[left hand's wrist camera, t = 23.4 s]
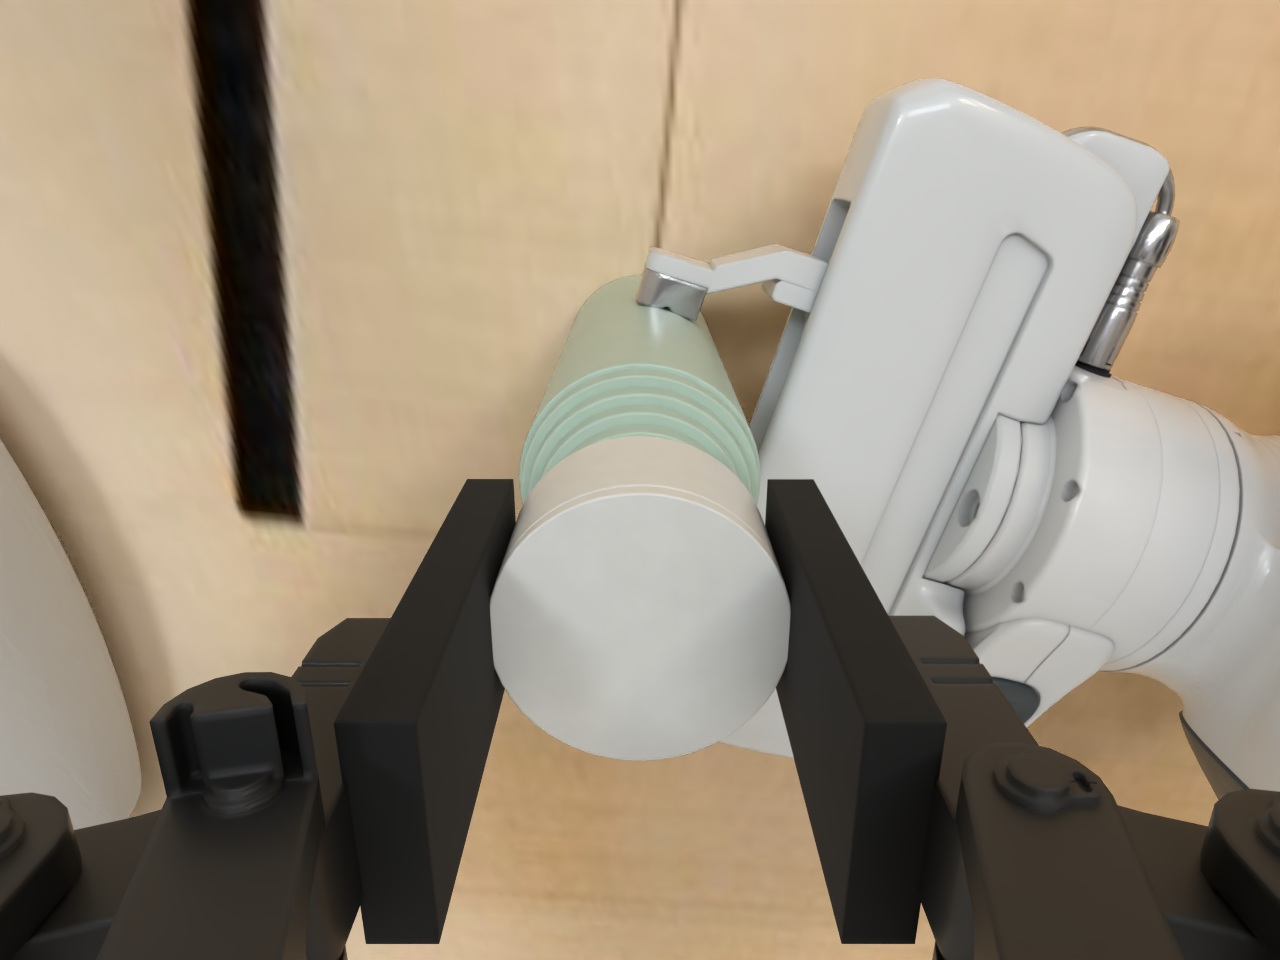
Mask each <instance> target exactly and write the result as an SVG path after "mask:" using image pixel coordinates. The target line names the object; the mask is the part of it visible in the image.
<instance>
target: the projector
mask: <svg viewBox="0 0 1280 960" xmlns="http://www.w3.org/2000/svg"><path fill="white" fill-rule="evenodd" d="M141 780H142V777H141V768H140V761H139V755H138V750H137V745H136V741H135V737H134V732H133V728H132V724H131V721H130V717H129V713H128V710H127V706H126V703H125V699H124V696H123V693H122V690H121V686H120V683H119V680H118V677H117V674H116V671H115V668H114V665H113V663H112V660H111V657H110V654H109V652H108V649H107V646H106V643H105V640H104V638H103V635H102V633H101V630H100V628H99V625H98V623H97V621H96V618H95V616H94V614H93V611H92V609H91V606H90V604H89V602H88V599H87V597H86V595H85V593H84V590H83V588H82V586H81V584H80V582H79V580H78V578H77V576H76V574H75V571H74V569H73V567H72V565H71V563H70V561H69V559H68V557H67V555H66V553H65V551H64V549H63V547H62V545H61V543H60V541H59V539H58V538H57V536H56V534H55V532H54V530H53V528H52V526H51V524H50V522H49V520H48V519H47V517H46V515H45V513H44V511H43V509H42V508H41V506H40V504H39V502H38V501H37V499H36V497H35V495H34V494H33V492H32V490H31V488H30V487H29V485H28V483H27V481H26V480H25V478H24V476H23V475H22V473H21V471H20V470H19V468H18V466H17V465H16V463H15V462H14V460H13V458H12V457H11V455H10V454H9V452H8V450H7V449H6V447H5V445H4V444H3V442H2V441H1V439H0V796H2V795H11V794H21V793H30V792H33V793H38V794H43V795H49V796H54V797H56V798H57V799H58V800H59V801H60V802H61V803H62V804H64V805H65V806H66V807H67V808H68V812H69V815H70V819H71V822H72V826H73V829H74V830H77V829H81V828H86V827H91V826H95V825H100V824H104V823H109V822H114V821H118V820H123V819H128V818H129V816H130V815H131V813H132V811H133V809H134V808H135V806H136V803H137V801H138V798H139V796H140V792H141Z"/></svg>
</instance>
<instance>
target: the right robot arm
mask: <svg viewBox="0 0 1280 960" xmlns="http://www.w3.org/2000/svg"><path fill="white" fill-rule="evenodd" d="M1157 196H1158V199H1157V205H1156V210H1155V212H1153V211H1150V210H1151V208H1152V206H1153V204H1154V202H1155V200H1156V198H1157ZM1174 199H1175V184H1174V178H1173V175H1172V172H1171V169H1170V167H1169V163H1168V161H1167V159H1166V158H1165V157H1164V156H1163V155H1162V154H1161V153H1159V152H1158V151H1157V150H1156V149H1154V148H1153V147H1151V146H1150V145H1148V144H1146V143H1143V142H1141V141H1138V140H1135V139H1132V138H1129V137H1126V136H1123V135H1121V134H1118V133H1115V132H1112V131H1109V130H1106V129H1103V128H1098V127H1079V128H1074V129H1070V130H1067V131H1065V132H1062V133H1060V132H1058V131H1056V130H1055V129H1053V128H1051V127H1049V126H1047V125H1046V124H1044V123H1042V122H1040V121H1038V120H1036V119H1035V118H1033V117H1031V116H1029V115H1027V114H1025V113H1023V112H1021V111H1019V110H1017V109H1015V108H1013V107H1011V106H1009V105H1007V104H1005V103H1003V102H1000V101H998V100H996V99H994V98H992V97H989V96H987V95H985V94H982V93H980V92H978V91H975V90H973V89H970V88H968V87H965V86H963V85H960V84H957V83H955V82H952V81H949V80H945V79H939V78H923V79H918V80H914V81H911V82H908V83H905V84H903V85H901V86H898V87H896V88H894V89H892V90H890V91H888V92H886V93H885V94H883V95H881V96H879V97H877V98H876V99H874V100H872V101H871V102H870V103H869V104H868V105H867V106H866V108H865V109H864V111H863V113H862V116H861V118H860V121H859V123H858V126H857V129H856V132H855V134H854V137H853V140H852V143H851V145H850V148H849V151H848V154H847V156H846V159H845V162H844V165H843V167H842V170H841V173H840V176H839V179H838V181H837V184H836V187H835V190H834V192H833V195H832V198H831V201H830V203H829V206H828V209H827V212H826V214H825V217H824V220H823V223H822V225H821V228H820V231H819V234H818V236H817V239H816V242H815V245H814V248H813V250H812V253H811V255H810V254H807V253H804V252H801V251H797V250H794V249H791V248H788V247H785V246H781V245H778V244H771V245H767V246H763V247H759V248H755V249H751V250H747V251H743V252H738V253H734V254H730V255H726V256H722V257H718V258H714V259H710V262H709V263H706V262H703V261H699V260H696V259H693V258H690V257H687V256H683V255H680V254H677V253H674V252H671V251H668V250H664V249H660V248H655V247H650V249H649V252H648V256H647V259H646V263H645V266H644V269H643V273H642V277H641V280H640V284H639V287H638V291H637V295H636V301H637V302H639V303H641V304H643V305H646V306H649V307H652V308H659V309H661V308H665V307H669V309H670V310H671V311H672V313H674V314H677V315H679V316H681V317H684V318H688V319H691V320H694V321H696V320H697V317H698V314H699V312H700V309H701V306H702V303H703V300H704V297H705V294H706V292H707V294H709V293H714V292H718V291H723V290H727V289H732V288H737V287H741V286H746V285H750V284H755V283H759V282H763V283H762V287H763V290H764V291H765V292H766V293H767V294H768V295H769V296H770V297H771V298H772V299H773V300H774V301H776V302H779V303H782V304H785V305H788V306H791V307H792V308H791V311H790V314H789V317H788V319H787V322H786V325H785V328H784V330H783V333H782V336H781V339H780V341H779V344H778V347H777V350H776V352H775V355H774V358H773V361H772V363H771V366H770V369H769V372H768V374H767V377H766V380H765V383H764V386H763V388H762V391H761V394H760V397H759V399H758V402H757V405H756V408H755V410H754V413H753V416H752V419H751V421H750V424H749V428H750V430H751V433H752V435H753V438H754V441H755V443H756V446H757V451H758V455H759V460H760V471H761V481H760V492H759V497H758V504H757V507H758V509H759V511H760V513H761V516H762V519H763V522H764V525H765V517H766V498H767V480H768V479H814V481H815V483H816V485H817V486H818V488H819V490H820V492H821V494H822V496H823V497H824V499H825V501H826V503H827V505H828V507H829V508H830V510H831V512H832V514H833V516H834V517H835V519H836V521H837V523H838V525H839V527H840V528H841V530H842V532H843V534H844V536H845V537H846V539H847V541H848V543H849V545H850V547H851V548H852V550H853V552H854V554H855V556H856V558H857V559H858V561H859V563H860V565H861V567H862V568H863V570H864V572H865V574H866V576H867V578H868V579H869V581H870V583H871V585H872V587H873V588H874V590H875V592H876V594H877V596H878V598H879V599H880V601H881V603H882V605H883V607H884V609H885V610H886V612H887V614H888V616H935V617H937V618H938V619H940V620H941V621H943V622H944V623H946V624H947V625H949V626H950V627H952V628H953V629H954V630H956V631H957V632H959V633H960V634H962V635H963V636H964V637H965V639H966V640H967V642H968V643H969V645H970V646H971V647H972V649H973V650H974V652H975V653H976V655H977V656H978V658H979V662H980V664H983V665H984V666H985V668H986V669H987V671H988V672H989V674H990V675H991V677H992V678H993V684H997V685H998V687H999V688H1000V690H1001V691H1002V693H1003V694H1004V696H1005V697H1006V699H1007V700H1008V702H1009V703H1010V704H1011V706H1012V707H1013V709H1014V710H1015V712H1016V713H1017V715H1018V716H1019V718H1020V719H1021V720H1022V722H1023V723H1024V725H1025V726H1026V728H1027V727H1028V726H1030V725H1031V724H1032V723H1033V722H1034V721H1035V720H1036V719H1037V718H1038V717H1040V716H1041V715H1042V714H1043V713H1044V712H1045V711H1047V710H1048V709H1049V708H1050V707H1051V706H1052V705H1054V704H1055V703H1056V702H1057V701H1059V700H1060V699H1061V698H1063V697H1064V696H1065V695H1066V694H1068V693H1069V692H1070V691H1072V690H1073V689H1075V688H1076V687H1077V686H1079V685H1080V684H1082V683H1083V682H1084V681H1086V680H1087V679H1089V678H1090V677H1091V676H1093V675H1094V674H1095V673H1096V672H1097V671H1104V672H1126V673H1135V674H1140V675H1144V676H1147V677H1150V678H1153V679H1155V680H1157V681H1159V682H1161V683H1163V684H1164V685H1165V686H1167V687H1168V688H1170V689H1171V690H1172V691H1174V692H1175V693H1176V694H1177V695H1178V696H1179V697H1180V698H1181V700H1182V702H1183V706H1184V709H1183V711H1181V712H1180V713H1179V716H1180V720H1181V723H1182V726H1183V729H1184V732H1185V735H1186V737H1187V740H1188V742H1189V744H1190V746H1191V748H1192V750H1193V752H1194V754H1195V756H1196V758H1197V760H1198V762H1199V764H1200V766H1201V768H1202V770H1203V772H1204V774H1205V775H1206V777H1207V779H1208V781H1209V783H1210V785H1211V787H1212V788H1213V790H1214V792H1215V794H1216V796H1217V798H1218V800H1220V799H1221V798H1222V797H1223V796H1224V795H1225V794H1227V793H1229V792H1235V791H1240V790H1246V789H1259V790H1268V791H1278V792H1280V435H1261V436H1260V435H1253V434H1250V433H1247V432H1245V431H1243V430H1241V429H1240V428H1239V427H1237V426H1236V425H1235V424H1233V423H1232V422H1231V421H1230V420H1228V419H1227V418H1225V417H1224V416H1222V415H1220V414H1219V413H1217V412H1215V411H1214V410H1212V409H1210V408H1208V407H1206V406H1203V405H1201V404H1198V403H1195V402H1193V401H1190V400H1187V399H1183V398H1179V397H1176V396H1173V395H1170V394H1167V393H1164V392H1161V391H1158V390H1154V389H1151V388H1148V387H1145V386H1142V385H1139V384H1135V383H1132V382H1129V381H1126V380H1123V379H1120V378H1117V377H1114V376H1111V374H1109V372H1110V370H1111V368H1112V366H1113V364H1114V362H1115V360H1116V358H1117V356H1118V354H1119V352H1120V350H1121V348H1122V346H1123V344H1124V342H1125V340H1126V338H1127V336H1128V334H1129V332H1130V330H1131V328H1132V326H1133V323H1134V321H1135V319H1136V316H1137V314H1138V313H1136V312H1137V311H1139V308H1140V305H1141V304H1140V301H1142V299H1143V297H1144V294H1143V293H1144V292H1145V291H1146V289H1147V287H1148V285H1149V284H1148V282H1150V281H1151V279H1152V277H1153V275H1154V273H1155V272H1156V270H1157V268H1158V267H1159V268H1160V267H1161V266H1162V264H1163V263H1164V261H1165V260H1166V258H1167V256H1168V254H1169V252H1170V250H1171V248H1172V246H1173V243H1174V241H1175V238H1176V235H1177V232H1178V227H1179V223H1180V222H1179V220H1178V219H1177V218H1175V217H1172V216H1171V213H1172V210H1173V205H1174ZM718 742H721V743H724V744H728V745H732V746H736V747H740V748H744V749H749V750H753V751H758V752H763V753H767V754H772V755H777V756H783V757H788V758H793V759H794V757H793V753H792V749H791V745H790V741H789V737H788V733H787V729H786V726H785V722H784V718H783V714H782V710H781V706H780V702H779V698H778V694H777V691H776V688H775V689H774V691H773V692H772V694H771V696H770V697H769V699H768V700H767V701H766V703H765V704H764V705H763V706H762V707H761V708H760V710H759V711H758V712H757V713H756V714H755V715H754V716H753V717H752V718H751V719H750V720H749V721H747V722H746V723H745V724H744V725H743V726H742V727H740V728H739V729H738V730H736V731H735V732H733V733H732V734H730V735H729V736H728V737H726V738H724V739H722V740H720V741H718Z"/></svg>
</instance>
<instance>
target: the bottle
mask: <svg viewBox="0 0 1280 960" xmlns="http://www.w3.org/2000/svg"><path fill="white" fill-rule="evenodd" d="M641 277H642V276H628V277H624V278H620V279H617V280H614V281H612V282H610V283H608V284H606V285H604V286H603V287H601V288H600V289H598V290H597V291H596V292H595V293H593V294H592V295H591V296H590V297H589V299H588V300H587V301H586V302H585V304H584V305H583V306H582V308H581V310H580V311H579V313H578V315H577V318H576V320H575V322H574V325H573V327H572V330H571V332H570V334H569V337H568V339H567V341H566V344H565V346H564V349H563V351H562V353H561V356H560V358H559V361H558V363H557V365H556V368H555V370H554V373H553V375H552V377H551V380H550V382H549V385H548V387H547V389H546V392H545V394H544V397H543V399H542V401H541V404H540V406H539V409H538V411H537V413H536V416H535V418H534V421H533V423H532V425H531V428H530V430H529V433H528V435H527V438H526V440H525V443H524V446H523V451H522V455H521V459H520V469H519V482H520V492H521V498H522V504H523V505H524V503H525V500H526V498H527V497H528V495H529V494H530V492H531V491H532V489H533V488H534V487H535V485H536V484H537V483H538V482H539V480H540V479H541V478H542V477H543V476H544V475H545V474H546V473H547V472H548V471H549V470H550V469H551V468H553V467H554V466H555V465H556V464H557V463H559V462H560V461H561V460H563V459H565V458H566V457H568V456H569V455H571V454H572V453H574V452H576V451H578V450H580V449H583V448H585V447H587V446H589V445H592V444H595V443H598V442H601V441H605V440H609V439H614V438H620V437H630V436H649V437H660V438H665V439H670V440H675V441H679V442H682V443H685V444H688V445H691V446H693V447H695V448H697V449H699V450H701V451H703V452H706V453H708V454H709V455H711V456H712V457H714V458H715V459H717V460H718V461H720V462H721V463H723V464H724V465H725V466H726V467H727V468H728V469H729V470H731V471H732V472H733V473H734V474H735V475H736V476H737V477H738V478H739V480H740V481H741V482H742V483H743V484H744V485H745V487H746V488H747V490H748V491H749V493H750V494H751V496H752V497H753V499H754V501H755V503H756V505H757V504H758V497H759V492H760V481H761V471H760V460H759V455H758V451H757V446H756V443H755V441H754V438H753V435H752V433H751V430H750V428H749V425H748V423H747V421H746V418H745V416H744V413H743V411H742V408H741V406H740V404H739V401H738V399H737V396H736V394H735V392H734V389H733V387H732V384H731V382H730V380H729V377H728V375H727V372H726V370H725V368H724V365H723V363H722V360H721V358H720V356H719V353H718V351H717V348H716V346H715V344H714V341H713V339H712V336H711V334H710V332H709V329H708V327H707V324H706V322H705V320H704V317H703V315H702V313H701V311H700V312H699V314H698V317H697V320H696V321H694V320H691V319H688V318H684V317H681V316H679V315H677V314H674V313H672V311H671V310H670V309H669V307H665V308H661V309H659V308H652V307H649V306H646V305H643V304H641V303H639V302H637V301H636V295H637V291H638V287H639V284H640V280H641Z"/></svg>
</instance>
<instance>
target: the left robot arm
mask: <svg viewBox="0 0 1280 960" xmlns="http://www.w3.org/2000/svg"><path fill="white" fill-rule="evenodd" d="M515 525H516V521H515V502H514V484H513V479H467V481H466V482H465V484H464V486H463V488H462V490H461V492H460V493H459V495H458V497H457V499H456V501H455V503H454V504H453V506H452V508H451V510H450V512H449V513H448V515H447V517H446V519H445V521H444V523H443V524H442V526H441V528H440V530H439V532H438V534H437V535H436V537H435V539H434V541H433V543H432V544H431V546H430V548H429V550H428V552H427V554H426V555H425V557H424V559H423V561H422V563H421V564H420V566H419V568H418V570H417V572H416V574H415V575H414V577H413V579H412V581H411V583H410V585H409V586H408V588H407V590H406V592H405V594H404V595H403V597H402V599H401V601H400V603H399V605H398V606H397V608H396V610H395V612H394V614H393V616H392V617H391V618H347V619H345V620H344V621H342V622H341V623H340V624H338V625H337V626H335V627H334V628H332V629H331V630H329V631H328V632H327V633H325V634H324V635H322V636H321V637H319V638H318V639H317V640H316V642H315V643H314V645H313V646H312V648H311V649H310V651H309V652H308V654H307V655H306V657H305V658H304V660H303V661H302V667H298V668H297V670H296V671H295V673H294V674H293V676H292V677H287V676H284V675H280V674H276V673H272V672H246V673H240V674H235V675H230V676H225V677H220V678H215V679H213V680H210V681H208V682H205V683H203V684H200V685H198V686H195V687H192V688H190V689H187V690H186V691H184V692H183V693H181V694H180V695H178V696H177V697H175V698H173V699H172V700H170V701H169V702H167V703H166V704H164V705H163V706H162V708H161V709H160V710H159V711H158V712H157V713H156V715H155V716H154V717H153V718H152V719H151V720H150V726H151V730H152V735H153V739H154V743H155V747H156V752H157V756H158V760H159V764H160V769H161V773H162V777H163V781H164V786H165V790H166V794H167V799H166V801H165V803H164V805H163V808H162V810H158V811H155V812H151V813H148V814H144V815H141V816H137V817H132V818H128V819H123V820H118V821H114V822H109V823H104V824H100V825H95V826H91V827H86V828H81V829H77V830H74V829H73V826H72V822H71V819H70V815H69V812H68V808H67V807H66V806H65V805H64V804H62V803H61V802H60V801H59V800H58V799H57V798H56V797H54V796H49V795H43V794H38V793H33V792H30V793H21V794H11V795H2V796H0V960H348V959H347V953H346V947H345V944H346V941H347V939H348V936H349V933H350V931H351V928H352V925H353V923H354V920H355V917H356V915H357V912H358V910H359V907H360V906H361V913H362V920H363V927H364V933H365V940H366V944H439V942H440V938H441V934H442V930H443V926H444V923H445V919H446V915H447V911H448V907H449V903H450V899H451V895H452V892H453V888H454V884H455V880H456V876H457V872H458V868H459V864H460V861H461V857H462V853H463V849H464V845H465V841H466V837H467V833H468V829H469V826H470V822H471V818H472V814H473V810H474V806H475V802H476V798H477V795H478V791H479V787H480V783H481V779H482V775H483V771H484V767H485V763H486V760H487V756H488V752H489V748H490V744H491V740H492V736H493V732H494V729H495V725H496V721H497V717H498V713H499V709H500V705H501V701H502V697H503V694H504V690H505V688H504V686H503V685H502V683H501V681H500V679H499V676H498V674H497V672H496V670H495V668H494V661H493V647H492V633H491V618H490V598H491V595H492V592H493V589H494V585H495V582H496V579H497V577H498V574H499V571H500V568H501V565H502V562H503V559H504V556H505V553H506V551H507V548H508V545H509V542H510V539H511V536H512V533H513V530H514V527H515ZM765 528H766V531H767V533H768V536H769V539H770V542H771V545H772V548H773V551H774V554H775V557H776V560H777V562H778V565H779V568H780V571H781V574H782V577H783V580H784V583H785V586H786V589H787V593H788V596H789V599H790V605H791V614H790V630H789V644H788V657H787V663H786V666H785V670H784V672H783V674H782V676H781V678H780V680H779V682H778V684H777V686H776V691H777V694H778V698H779V702H780V706H781V710H782V714H783V718H784V722H785V726H786V729H787V733H788V737H789V741H790V745H791V749H792V753H793V757H794V760H795V764H796V768H797V772H798V776H799V780H800V784H801V788H802V792H803V795H804V799H805V803H806V807H807V811H808V815H809V819H810V823H811V826H812V830H813V834H814V838H815V842H816V846H817V850H818V854H819V857H820V861H821V865H822V869H823V873H824V877H825V881H826V885H827V889H828V892H829V896H830V900H831V904H832V908H833V912H834V916H835V920H836V923H837V927H838V931H839V935H840V939H841V943H842V944H915V939H916V932H917V925H918V918H919V912H920V905H921V903H922V906H923V908H924V911H925V914H926V916H927V919H928V921H929V924H930V927H931V929H932V932H933V935H934V937H935V947H934V953H933V959H932V960H1280V792H1278V791H1268V790H1259V789H1246V790H1240V791H1235V792H1229V793H1227V794H1225V795H1224V796H1223V797H1222V798H1221V799H1220V800H1219V801H1218V802H1217V803H1215V805H1214V808H1213V812H1212V815H1211V819H1210V822H1209V826H1203V825H1198V824H1194V823H1189V822H1184V821H1180V820H1175V819H1171V818H1166V817H1161V816H1157V815H1152V814H1147V813H1143V812H1139V811H1136V810H1132V809H1129V808H1125V807H1122V806H1118V805H1117V804H1116V802H1115V799H1114V797H1113V795H1112V794H1111V793H1110V791H1109V790H1108V788H1107V787H1106V786H1105V784H1104V783H1103V782H1102V780H1101V779H1100V777H1098V776H1097V775H1096V774H1094V773H1093V772H1092V771H1090V770H1089V769H1088V768H1086V767H1085V766H1084V765H1082V764H1081V763H1080V762H1078V761H1077V760H1074V759H1072V758H1070V757H1068V756H1066V755H1063V754H1061V753H1059V752H1057V751H1054V750H1052V749H1050V748H1045V747H1041V746H1039V745H1038V744H1037V742H1036V741H1035V739H1034V738H1033V737H1032V735H1031V734H1030V732H1029V731H1028V729H1027V728H1026V726H1025V725H1024V723H1023V722H1022V720H1021V719H1020V718H1019V716H1018V715H1017V713H1016V712H1015V710H1014V709H1013V707H1012V706H1011V704H1010V703H1009V702H1008V700H1007V699H1006V697H1005V696H1004V694H1003V693H1002V691H1001V690H1000V688H999V687H998V685H997V684H993V678H992V677H991V675H990V674H989V672H988V671H987V669H986V668H985V666H984V665H983V664H980V662H979V658H978V656H977V655H976V653H975V652H974V650H973V649H972V647H971V646H970V645H969V643H968V642H967V640H966V639H965V637H964V636H963V635H962V634H960V633H959V632H957V631H956V630H954V629H953V628H952V627H950V626H949V625H947V624H946V623H944V622H943V621H941V620H940V619H938V618H937V617H935V616H888V614H887V612H886V610H885V609H884V607H883V605H882V603H881V601H880V599H879V598H878V596H877V594H876V592H875V590H874V588H873V587H872V585H871V583H870V581H869V579H868V578H867V576H866V574H865V572H864V570H863V568H862V567H861V565H860V563H859V561H858V559H857V558H856V556H855V554H854V552H853V550H852V548H851V547H850V545H849V543H848V541H847V539H846V537H845V536H844V534H843V532H842V530H841V528H840V527H839V525H838V523H837V521H836V519H835V517H834V516H833V514H832V512H831V510H830V508H829V507H828V505H827V503H826V501H825V499H824V497H823V496H822V494H821V492H820V490H819V488H818V486H817V485H816V483H815V481H814V479H768V480H767V498H766V517H765Z"/></svg>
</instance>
